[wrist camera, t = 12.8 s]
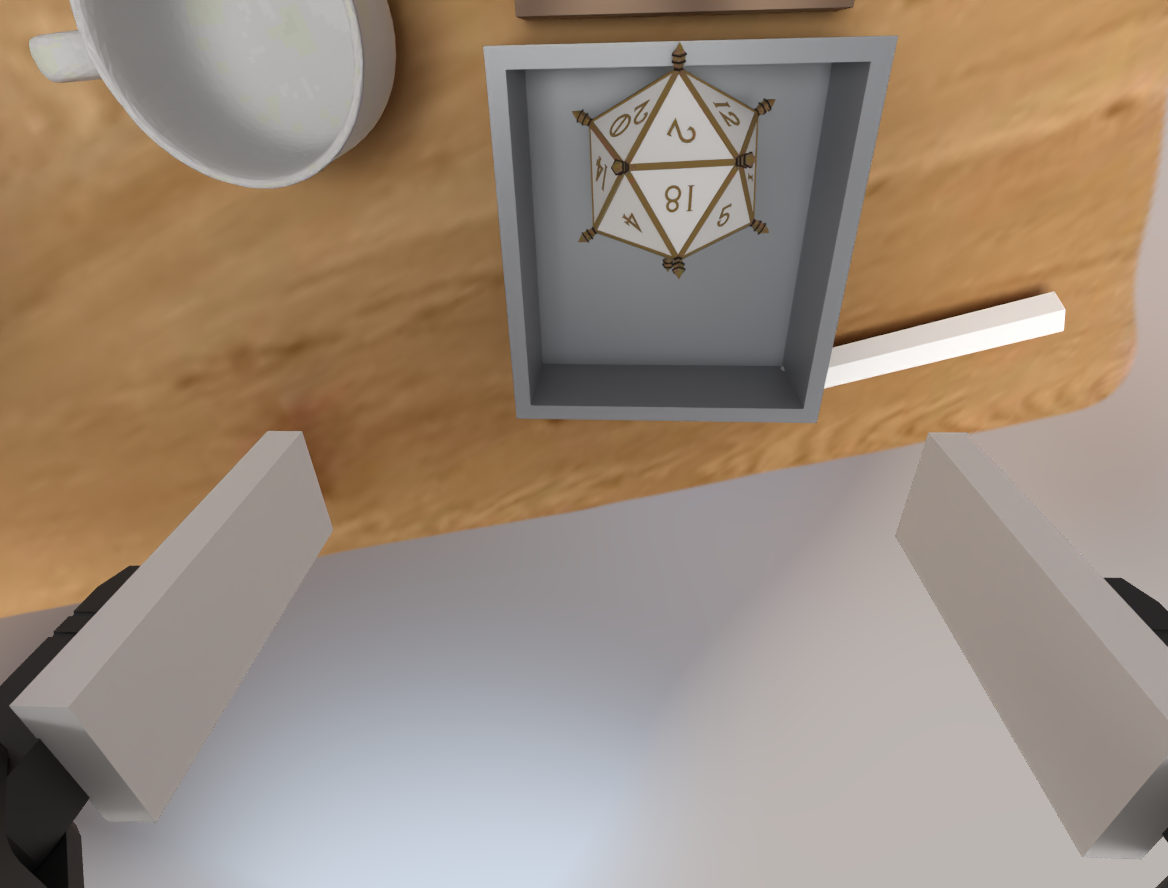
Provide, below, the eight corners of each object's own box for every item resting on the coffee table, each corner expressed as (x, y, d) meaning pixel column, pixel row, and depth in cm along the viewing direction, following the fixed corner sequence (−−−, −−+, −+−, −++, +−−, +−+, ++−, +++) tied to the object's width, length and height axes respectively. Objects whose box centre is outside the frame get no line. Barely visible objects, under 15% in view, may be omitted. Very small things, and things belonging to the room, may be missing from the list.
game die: (640, 269, 34) (526, 284, 26) (637, 96, 31) (509, 58, 24) (804, 266, 29) (724, 285, 22) (817, 62, 27) (732, -1, 19)
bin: (532, 370, 38) (516, 418, 32) (509, 48, 29) (483, 45, 24) (790, 372, 37) (816, 423, 31) (849, 40, 28) (897, 35, 23)
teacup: (412, -100, 26) (336, -156, 19) (427, 173, 32) (372, 203, 25) (92, -129, 26) (-93, -195, 20) (164, 148, 32) (40, 171, 25)
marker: (743, 371, 37) (1036, 297, 34) (752, 405, 37) (1045, 334, 34) (745, 369, 35) (1062, 288, 31) (754, 405, 35) (1072, 329, 31)
